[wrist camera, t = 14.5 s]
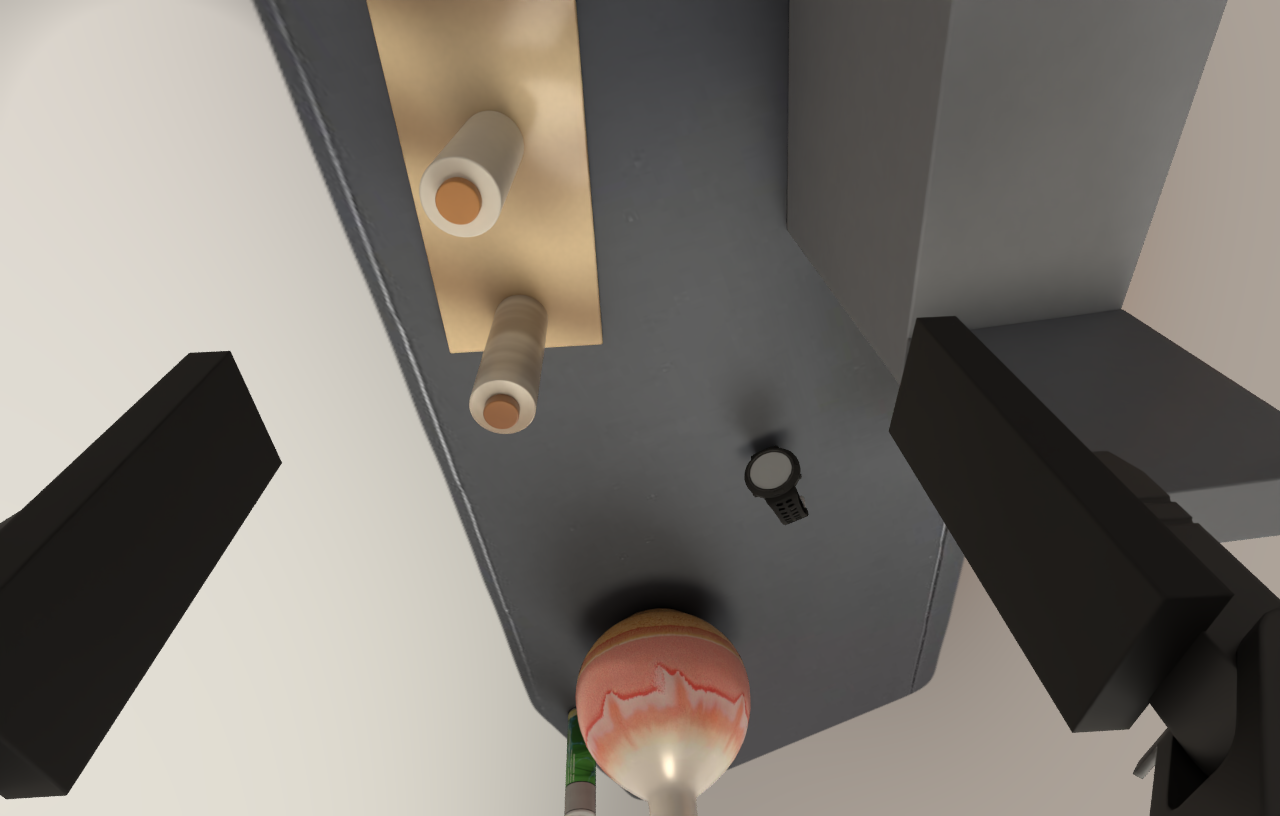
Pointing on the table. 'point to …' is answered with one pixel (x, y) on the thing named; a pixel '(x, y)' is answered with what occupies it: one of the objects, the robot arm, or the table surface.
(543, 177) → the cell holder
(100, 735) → the robot arm
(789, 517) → the smartwatch
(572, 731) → the battery
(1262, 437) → the grey stand
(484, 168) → the white cell
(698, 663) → the vase
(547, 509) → the table surface
